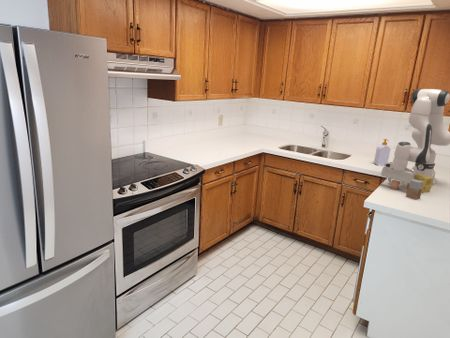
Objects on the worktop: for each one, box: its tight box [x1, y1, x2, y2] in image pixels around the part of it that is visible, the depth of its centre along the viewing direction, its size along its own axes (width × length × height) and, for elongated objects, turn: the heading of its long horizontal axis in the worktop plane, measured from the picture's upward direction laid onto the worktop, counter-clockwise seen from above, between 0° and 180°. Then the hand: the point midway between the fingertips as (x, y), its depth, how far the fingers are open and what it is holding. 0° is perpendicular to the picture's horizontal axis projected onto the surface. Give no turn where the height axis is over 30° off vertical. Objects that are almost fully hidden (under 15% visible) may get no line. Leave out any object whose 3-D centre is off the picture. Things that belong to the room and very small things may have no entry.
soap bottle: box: [373, 138, 391, 167], centre depth 277 cm, size 9×7×23 cm
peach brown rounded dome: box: [389, 179, 401, 190], centre depth 217 cm, size 5×5×5 cm
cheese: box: [406, 174, 434, 194], centre depth 217 cm, size 10×11×10 cm
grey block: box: [409, 179, 423, 190], centre depth 200 cm, size 5×5×5 cm
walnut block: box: [405, 188, 422, 201], centre depth 201 cm, size 6×6×6 cm
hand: (394, 185), depth 217 cm, fingers closed on peach brown rounded dome, 5 cm apart
